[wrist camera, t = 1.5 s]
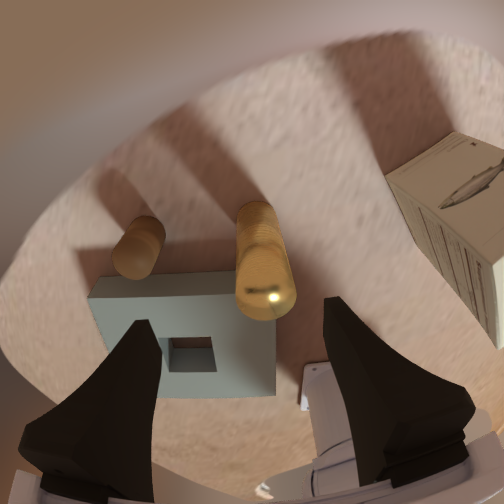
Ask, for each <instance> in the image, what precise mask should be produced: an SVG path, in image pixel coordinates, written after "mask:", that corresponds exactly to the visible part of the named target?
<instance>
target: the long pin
mask: <svg viewBox="0 0 504 504" xmlns="http://www.w3.org/2000/svg"><path fill="white" fill-rule="evenodd" d="M296 297H297V292H296V288H295V284H294V280H293V276H292V272H291V268H290V264H289V261H288V257H287V253H286V249H285V246H284V242H283V238H282V234H281V231H280V227H279V223H278V219H277V216H276V213H275V211H274V209H273V208H272V207H271V206H270V205H269V204H267V203H265V202H261V201H253V202H250V203H247V204H245V205H244V206H243V207H242V208H241V209H240V211H239V212H238V215H237V232H236V303H237V306H238V308H239V309H240V311H241V312H242V313H243V314H245V315H246V316H248V317H250V318H252V319H255V320H261V321H268V320H274V319H277V318H280V317H282V316H283V315H285V314H286V313H288V312H289V311H290V310H291V309H292V307H293V306H294V304H295V301H296Z"/></svg>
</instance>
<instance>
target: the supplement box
mask: <svg viewBox="0 0 504 504" xmlns="http://www.w3.org/2000/svg"><path fill="white" fill-rule="evenodd" d="M385 178H386V180H387V182H388V184H389V186H390V188H391V190H392V192H393V194H394V196H395V198H396V200H397V202H398V204H399V206H400V209H401V211H402V213H403V215H404V217H405V220H406V222H407V224H408V226H409V229H410V231H411V233H412V236H413V238H414V241H415V243H416V245H417V247H418V248H419V249H420V250H421V251H422V253H423V254H424V255H425V256H426V257H427V258H428V260H429V261H430V262H431V263H432V264H433V266H434V267H435V268H436V269H437V270H438V272H439V273H440V274H441V275H442V276H443V278H444V279H445V280H446V281H447V282H448V284H449V285H450V286H451V287H452V289H453V290H454V291H455V292H456V293H457V295H458V296H459V297H460V298H461V300H462V301H463V302H464V303H465V305H466V306H467V307H468V308H469V310H470V311H471V312H472V314H473V315H474V316H475V318H476V319H477V320H478V322H479V323H480V324H481V326H482V327H483V329H484V330H485V331H486V333H487V334H488V336H489V337H490V339H491V341H492V342H493V344H494V346H495V347H496V349H497V350H499V349H501V348H503V347H504V150H503V149H501V148H498V147H496V146H493V145H491V144H488V143H486V142H483V141H480V140H478V139H475V138H472V137H470V136H467V135H464V134H461V133H458V132H455V131H453V132H452V133H450V134H449V135H448V136H446V137H445V138H444V139H442V140H441V141H440V142H438V143H437V144H435V145H434V146H432V147H431V148H429V149H428V150H426V151H425V152H423V153H422V154H420V155H418V156H417V157H415V158H414V159H412V160H410V161H409V162H407V163H406V164H404V165H402V166H401V167H399V168H397V169H396V170H394V171H392V172H390V173H389V174H387V175H385Z"/></svg>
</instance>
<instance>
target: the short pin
mask: <svg viewBox="0 0 504 504" xmlns="http://www.w3.org/2000/svg"><path fill="white" fill-rule="evenodd" d="M165 238H166V232H165V229H164V227H163V225H162V224H161V222H160V221H158V220H157V219H155V218H154V217H151V216H141V217H138V218H136V219H135V220H134V221H133V222H132V223H131V225H130V226H129V228H128V229H127V231H126V232H125V233H124V235H123V236H122V238H121V239H120V241H119V242H118V244H117V245H116V247H115V248H114V250H113V252H112V262H113V265H114V267H115V269H116V270H117V271H118V272H119V273H120V274H121V275H122V276H124V277H126V278H128V279H132V280H140V279H143V278H145V277H147V276H148V275H149V274H150V273H151V271H152V269H153V267H154V264H155V262H156V260H157V257H158V255H159V253H160V250H161V248H162V246H163V243H164V241H165Z"/></svg>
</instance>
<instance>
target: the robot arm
mask: <svg viewBox="0 0 504 504" xmlns="http://www.w3.org/2000/svg"><path fill="white" fill-rule="evenodd" d="M323 337H324V341H325V346H326V350H327V354H328V358H329V360H330V362H323V363H313V364H307V365H306V366H305V367H304V373H303V383H302V392H301V401H300V410H303V411H305V410H309V412H310V417H311V423H312V428H313V434H314V440H315V445H316V451H317V457H318V458H315V459H313V460H312V461H313V467H314V469H311V470H309V471H308V472H307V473H306V476H305V478H304V480H303V483H302V495H303V499H296V500H288V501H280V502H271V503H260V504H481V503H483V502H484V501H486V500H488V499H489V498H491V497H492V496H494V495H496V494H497V493H498V492H500V491H501V490H503V489H504V449H503V447H502V445H501V443H500V440H499V438H498V436H497V434H496V432H495V431H492V432H490V433H488V434H487V435H485V436H482V437H480V438H478V439H476V440H474V441H472V442H471V443H469V444H468V445H466V446H465V444H464V442H463V440H464V439H465V434H464V431H463V429H464V427H465V426H466V425H467V423H468V422H469V421H470V419H471V418H472V416H473V415H474V413H475V410H476V407H475V405H474V403H473V401H472V399H471V397H470V395H469V394H468V392H467V391H466V389H465V387H462V386H460V385H457V384H455V383H452V382H449V381H447V380H444V379H442V378H440V377H438V376H436V375H434V374H432V373H430V372H428V371H426V370H424V369H423V368H421V367H419V366H418V365H416V364H414V363H412V362H411V361H409V360H408V359H406V358H405V357H403V356H402V355H400V354H399V353H398V352H396V351H395V350H394V349H392V348H391V347H390V346H389V345H388V344H386V343H385V342H384V341H383V340H382V339H381V338H379V337H378V336H377V335H376V334H375V333H374V332H373V331H372V330H371V329H370V328H369V327H368V326H367V325H366V324H365V323H364V322H363V321H362V320H361V319H360V318H359V317H358V316H357V315H356V314H355V313H354V312H353V311H352V310H351V309H350V308H349V307H348V305H347V304H346V303H345V302H344V301H343V300H342V299H341V298H340V297H339V296H337V297H331V298H325V299H324V321H323ZM162 354H163V352H162V350H161V347H160V345H159V343H158V341H157V338H156V336H155V334H154V331H153V329H152V326H151V324H150V322H149V319H142V320H135V321H134V322H133V323H132V325H131V326H130V327H129V329H128V330H127V331H126V333H125V334H124V335H123V337H122V338H121V339H120V341H119V342H118V343H117V345H116V346H115V347H114V348H113V350H112V351H111V352H110V354H109V355H108V356H107V357H106V358H105V360H104V361H103V362H102V363H101V364H100V366H99V367H98V368H97V369H96V370H95V371H94V373H93V374H92V375H91V376H90V377H89V378H88V379H87V380H86V381H85V382H84V383H83V384H82V385H81V386H80V387H79V388H78V389H77V390H75V391H74V392H73V393H72V394H71V395H70V396H68V397H67V398H66V399H65V400H64V401H62V402H61V403H60V404H59V405H57V406H56V407H54V408H53V409H52V410H50V411H49V412H47V413H46V414H44V415H43V416H41V417H39V418H37V419H36V420H34V421H32V422H31V423H29V424H27V425H26V427H25V429H24V432H23V435H22V438H21V441H20V444H19V447H18V451H19V453H20V454H21V455H22V457H24V458H25V459H26V460H27V461H28V462H30V463H31V464H33V465H34V466H35V467H37V468H38V469H39V470H40V471H42V472H43V475H42V478H41V477H39V476H36V475H34V474H30V473H28V472H24V471H21V470H17V471H16V474H15V478H14V482H13V485H12V489H11V493H10V497H9V501H8V504H159V503H154V497H153V485H152V467H151V440H152V423H153V415H154V410H155V404H156V399H157V394H158V389H159V383H160V378H161V371H162Z"/></svg>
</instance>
